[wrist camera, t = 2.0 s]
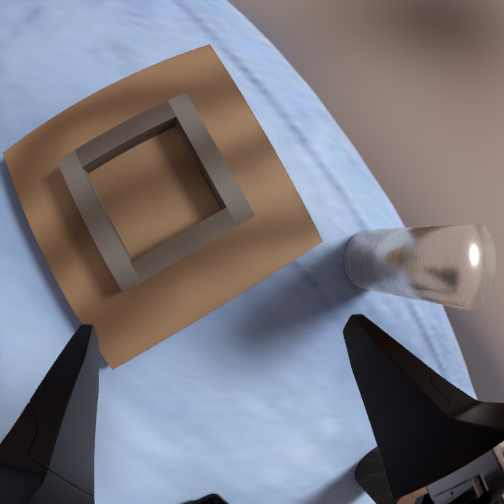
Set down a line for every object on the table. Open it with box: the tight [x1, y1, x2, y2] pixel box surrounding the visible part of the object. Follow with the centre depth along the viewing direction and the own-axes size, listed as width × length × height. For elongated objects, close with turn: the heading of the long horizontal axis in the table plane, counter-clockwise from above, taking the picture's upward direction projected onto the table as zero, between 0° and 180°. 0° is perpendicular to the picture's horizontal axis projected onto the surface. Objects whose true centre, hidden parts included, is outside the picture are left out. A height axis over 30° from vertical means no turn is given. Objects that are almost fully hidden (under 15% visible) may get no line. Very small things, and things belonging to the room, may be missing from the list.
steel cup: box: [344, 224, 496, 310], centre depth 23 cm, size 6×6×13 cm
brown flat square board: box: [3, 44, 323, 370], centre depth 22 cm, size 20×20×4 cm
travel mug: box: [355, 447, 427, 504], centre depth 21 cm, size 8×8×20 cm
